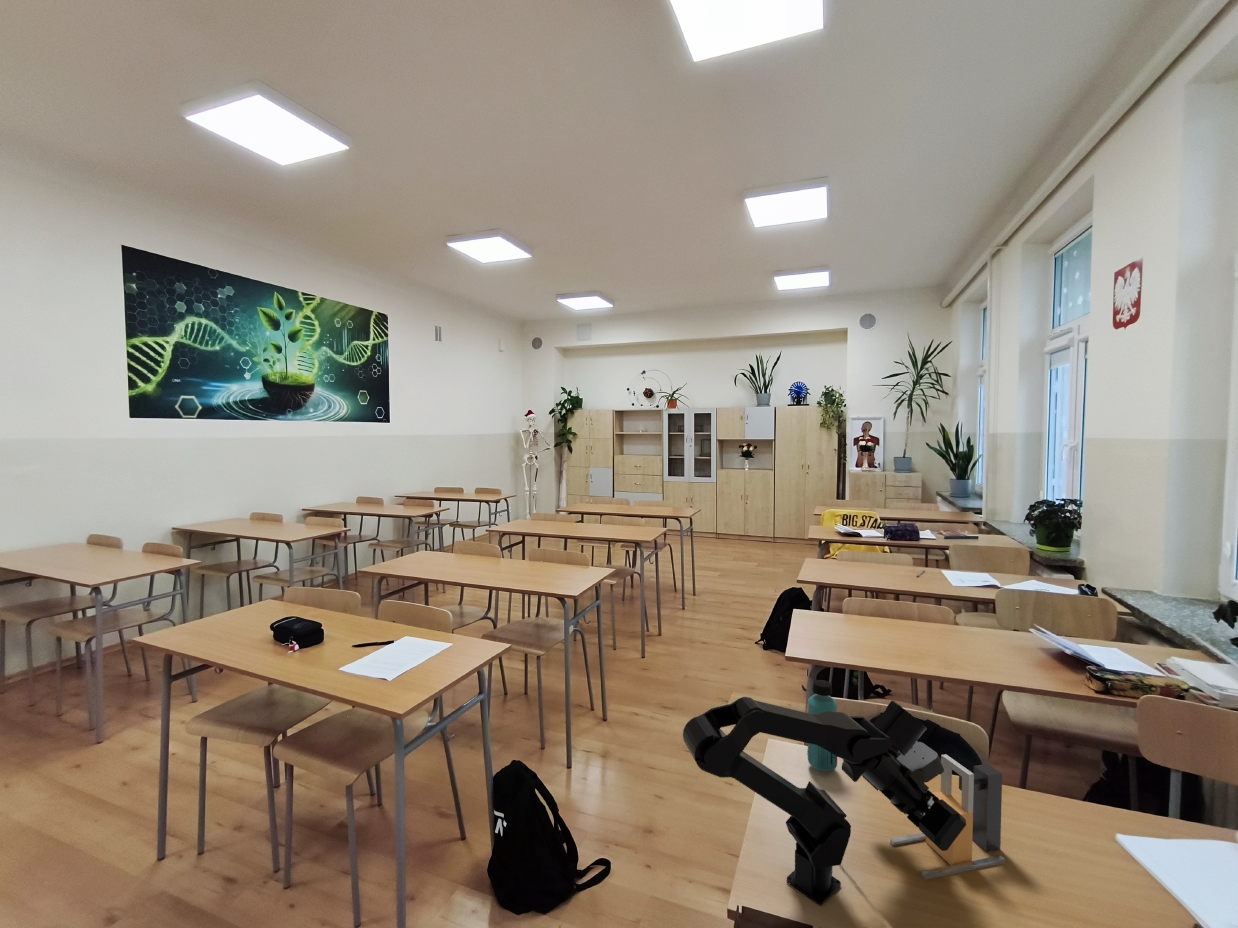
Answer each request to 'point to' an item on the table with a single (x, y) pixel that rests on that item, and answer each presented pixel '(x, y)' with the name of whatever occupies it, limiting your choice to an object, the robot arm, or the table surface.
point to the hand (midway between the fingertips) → (937, 822)
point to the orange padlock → (963, 843)
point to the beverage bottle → (818, 705)
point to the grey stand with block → (975, 822)
